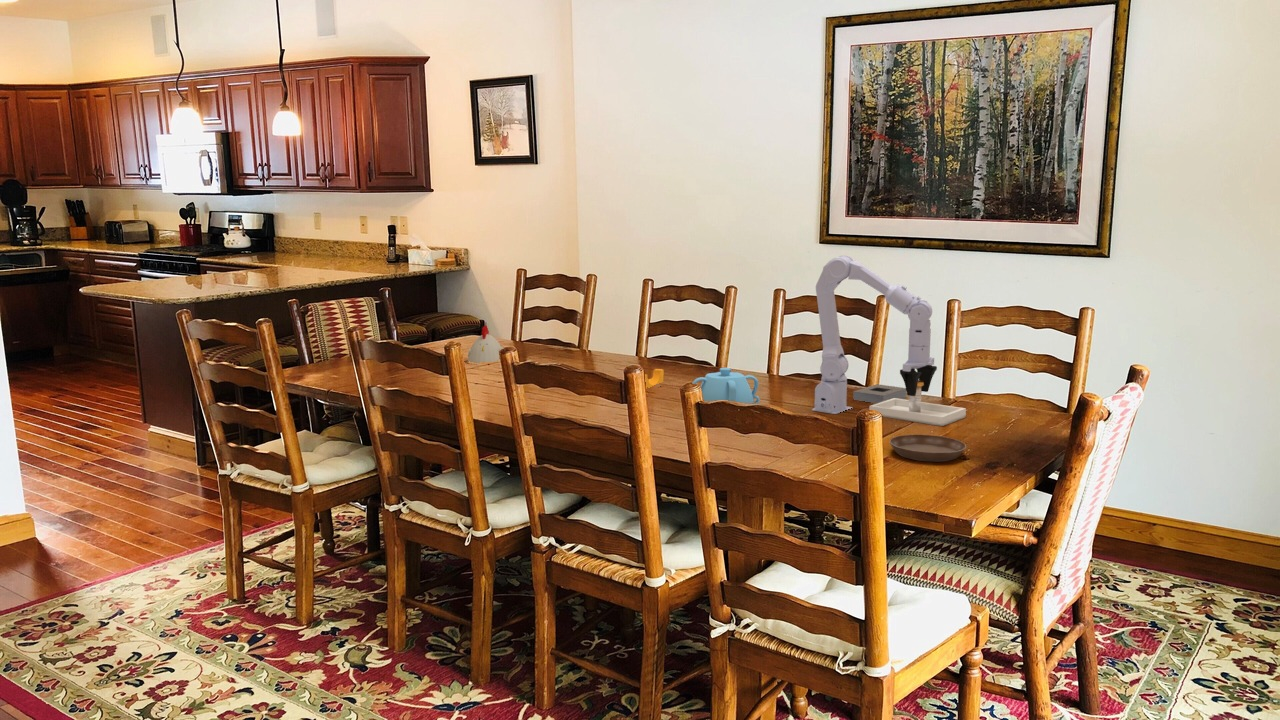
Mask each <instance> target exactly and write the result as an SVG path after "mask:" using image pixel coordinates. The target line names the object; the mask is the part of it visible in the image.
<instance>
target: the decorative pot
mask: <svg viewBox="0 0 1280 720" xmlns="http://www.w3.org/2000/svg"><path fill="white" fill-rule="evenodd" d="M747 380H753V381H754V385H753V388H752V389H751V387H750V383H748V381H747ZM698 382H701V384H700V386H699V388H700V387H701V389H702V394H703V400H704V401H715V400H728V401H736V402H742V403H758V404H759V403H760V401H761V399H760V397H759V396H758V395H756V394H757V391H758V388H759V380H758V378H757V377H755V376H754V375H750V374H748V375H747V374H745V375H744V374H743V373H741V372H733V371H732V368H731V367H720V368H719V371H716V372H711V373H710V372H709V373H706V374H705V376H704V377H703V376H701V377H697V378H695V379H694V380H693V382H692V384H696V385H697V383H698ZM692 384H691V385H692ZM754 399H756V400H754Z"/></svg>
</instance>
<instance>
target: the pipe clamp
mask: <svg viewBox="0 0 1280 720" xmlns="http://www.w3.org/2000/svg"><path fill="white" fill-rule="evenodd" d="M664 371H665V370H664V369H662V368H661V369H660V368H655V369H653V373H652V377H651V378H648V374H645V373H644V374H645V382H646V389H647V387H648V388H650V387H652V386H654V385H656V384H659V383H662V382H664V375H665V372H664Z"/></svg>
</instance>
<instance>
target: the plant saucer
mask: <svg viewBox="0 0 1280 720" xmlns="http://www.w3.org/2000/svg"><path fill="white" fill-rule="evenodd" d="M889 444H890V445H891V447H892V449H893V450H894V451H895V452H896V454H898V455H899V456H900V457H902V458H905V459H909V460H913V461H919V462H930V463H931V462H932V463H934V462H935V463H936V462H937V463H938V462H941V463H942V462H949V461H953V460H955V459H957V458H958V457H960V456H961V455H962V454H963V453H964V451H965V450H966V449H967V445H966V443H965V442H963V441H961V440H959V439H955V438H951V437H947V436H940V435H933V434H905V435H899V436H894V437H892V438H891V439H890V440H889Z"/></svg>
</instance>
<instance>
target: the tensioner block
mask: <svg viewBox="0 0 1280 720" xmlns="http://www.w3.org/2000/svg"><path fill="white" fill-rule="evenodd" d="M852 392H853V394H852V395H853V396H852V400H853V399H854V400H859V401H865V402H871V403H870V404H872V403H876V404H877V403H880V402H883V401H886V400H890V399H893V398H897V399H904V400H905V399H907V391H906V387H901V386H894V385H886V384H873V385H869V386H865V387H864V388H859V389H856V390H853V391H852ZM859 401H858V402H859ZM865 402H864V403H865Z"/></svg>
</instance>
